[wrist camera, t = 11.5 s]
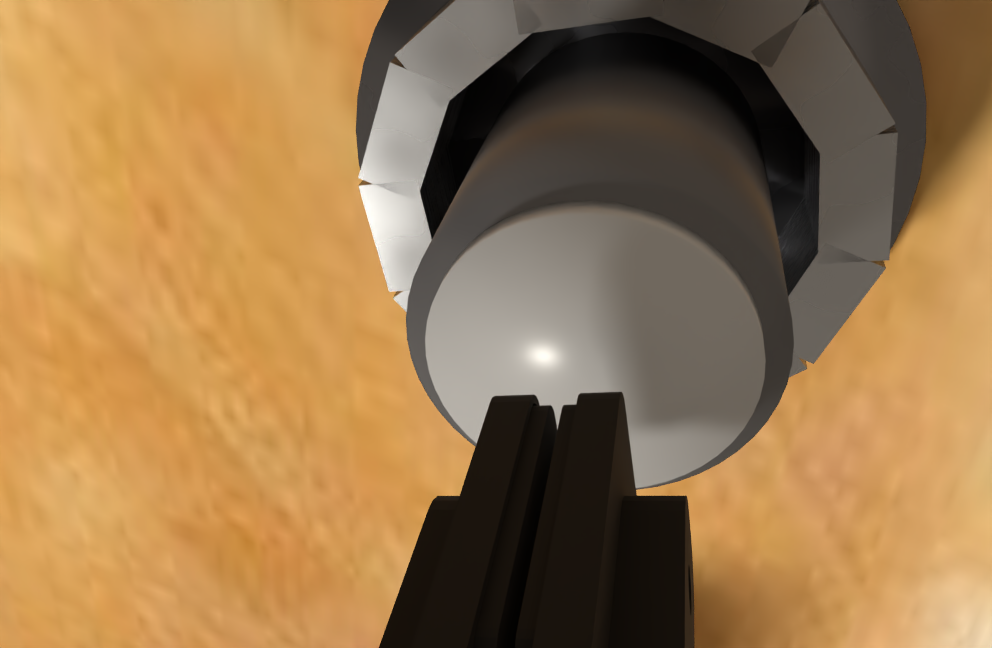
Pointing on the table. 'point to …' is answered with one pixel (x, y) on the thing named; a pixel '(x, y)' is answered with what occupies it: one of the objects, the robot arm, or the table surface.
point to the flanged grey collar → (726, 41)
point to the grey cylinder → (613, 257)
